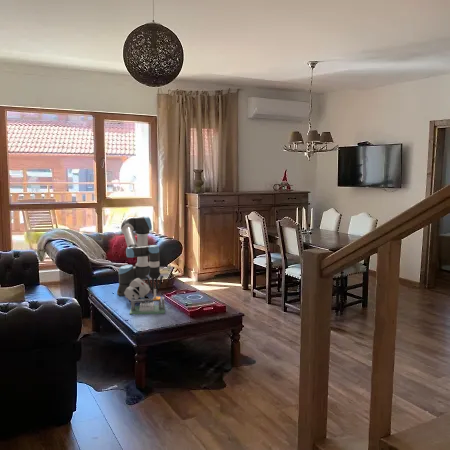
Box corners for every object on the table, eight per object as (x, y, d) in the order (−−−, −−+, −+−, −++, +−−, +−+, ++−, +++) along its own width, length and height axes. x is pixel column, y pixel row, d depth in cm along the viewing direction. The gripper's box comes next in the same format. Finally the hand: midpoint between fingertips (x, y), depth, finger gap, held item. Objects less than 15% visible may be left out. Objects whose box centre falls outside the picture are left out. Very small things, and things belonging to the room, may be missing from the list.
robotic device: (141, 314, 354) (154, 295, 350) (119, 297, 356) (132, 278, 352) (146, 310, 364) (159, 291, 360) (124, 294, 366) (138, 274, 362)
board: (131, 307, 348) (131, 306, 348) (164, 306, 351) (164, 304, 351) (129, 314, 332) (129, 313, 332) (164, 313, 335) (164, 311, 335)
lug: (158, 307, 345) (158, 297, 344) (164, 307, 346) (164, 296, 345) (158, 309, 339) (158, 299, 338) (164, 309, 340) (164, 299, 339)
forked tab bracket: (131, 308, 343) (131, 297, 342) (135, 307, 344) (134, 297, 342) (131, 310, 337) (130, 300, 336) (134, 310, 337) (134, 300, 336)
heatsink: (140, 306, 347) (140, 299, 346) (154, 306, 348) (153, 299, 347) (139, 311, 335) (139, 304, 334) (153, 311, 336) (153, 304, 335)
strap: (132, 300, 342) (132, 298, 342) (160, 299, 345) (160, 296, 344) (131, 303, 336) (131, 300, 336) (160, 301, 339) (160, 298, 338)
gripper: (144, 267, 333) (145, 299, 336) (163, 267, 335) (164, 298, 338) (145, 265, 340) (146, 296, 344) (163, 265, 342) (164, 295, 345)
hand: (155, 297), depth 341 cm, fingers closed
